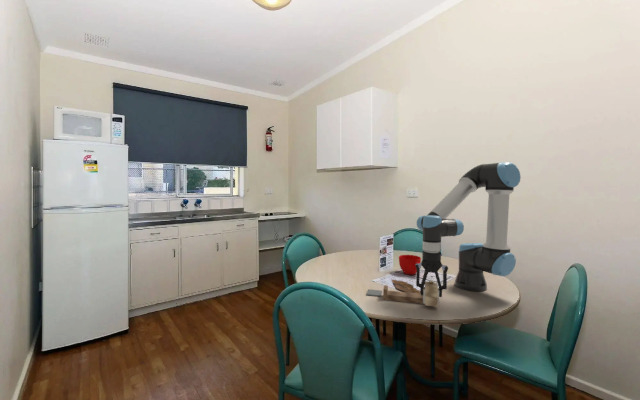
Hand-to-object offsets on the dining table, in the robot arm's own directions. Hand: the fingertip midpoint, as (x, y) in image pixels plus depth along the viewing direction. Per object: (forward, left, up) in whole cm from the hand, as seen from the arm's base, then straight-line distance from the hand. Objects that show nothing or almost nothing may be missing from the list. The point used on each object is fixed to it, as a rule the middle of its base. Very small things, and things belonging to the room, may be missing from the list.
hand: (430, 303), depth 127 cm
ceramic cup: (+8, -49, -2) cm, 50 cm away
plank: (+9, -6, -2) cm, 11 cm away
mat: (+26, -10, -2) cm, 28 cm away
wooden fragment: (+12, -24, -3) cm, 27 cm away
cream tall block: (0, 0, 0) cm, 0 cm away
